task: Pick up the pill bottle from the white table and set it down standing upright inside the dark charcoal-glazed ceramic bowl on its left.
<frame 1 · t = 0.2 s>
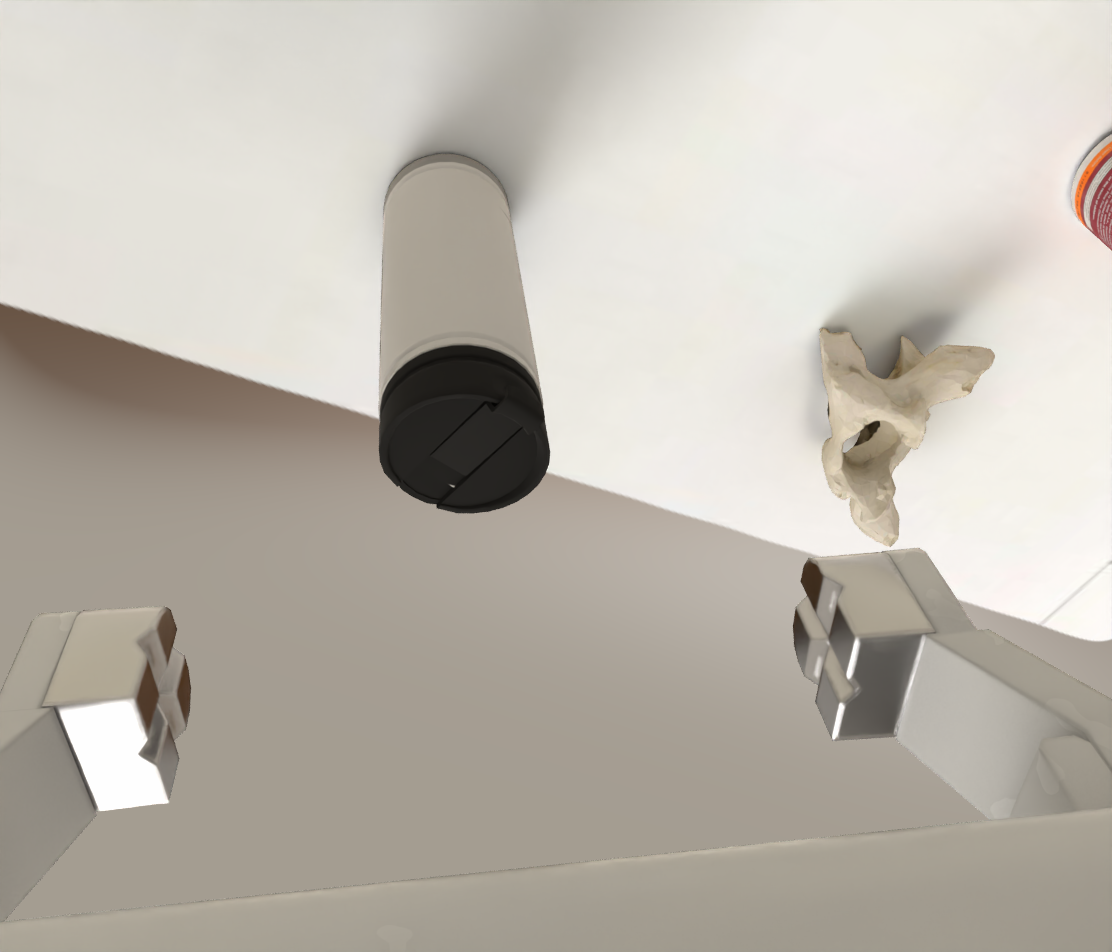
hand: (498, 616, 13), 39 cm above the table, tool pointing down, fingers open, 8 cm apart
bone: (874, 382, 62), on the table
travel mug: (448, 206, 51), on the table
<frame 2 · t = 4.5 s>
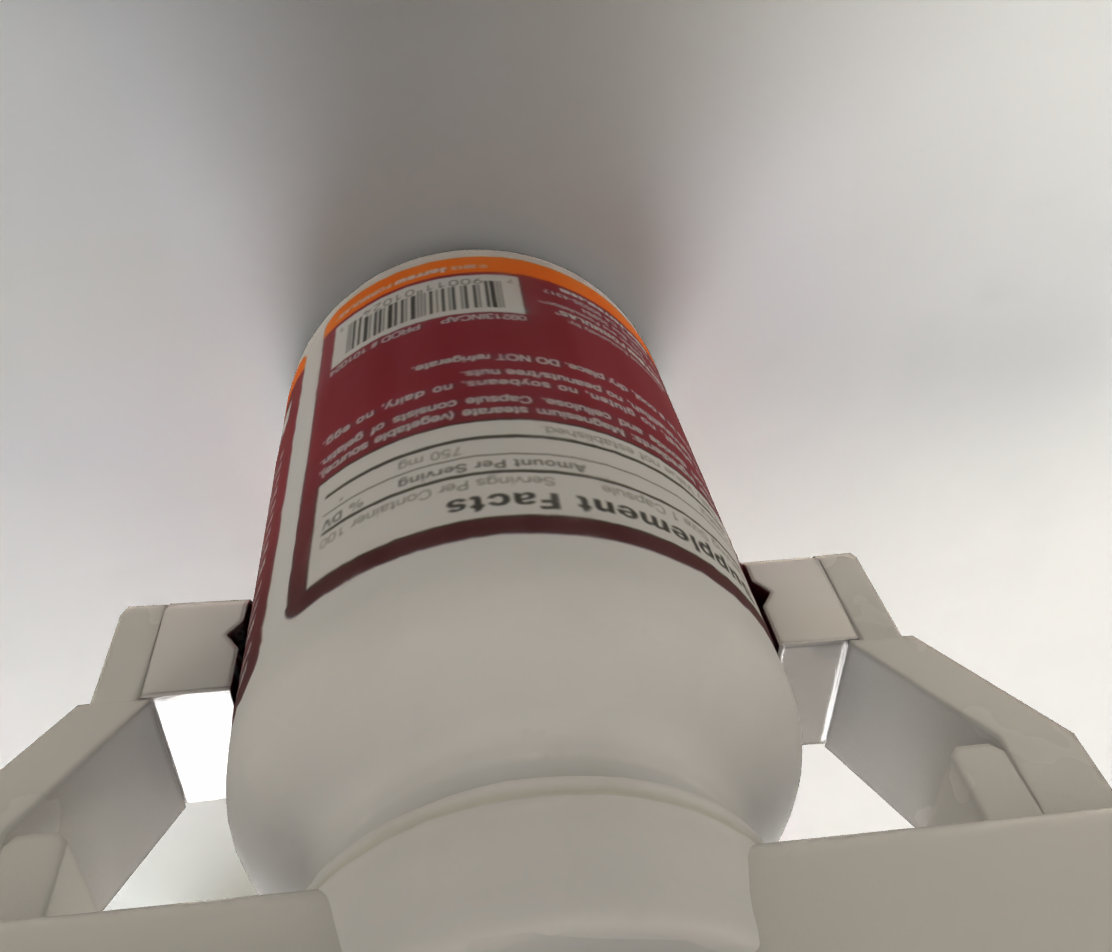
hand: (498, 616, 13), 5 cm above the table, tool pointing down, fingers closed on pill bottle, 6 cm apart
pill bottle: (476, 400, 18), on the table, touching gripper
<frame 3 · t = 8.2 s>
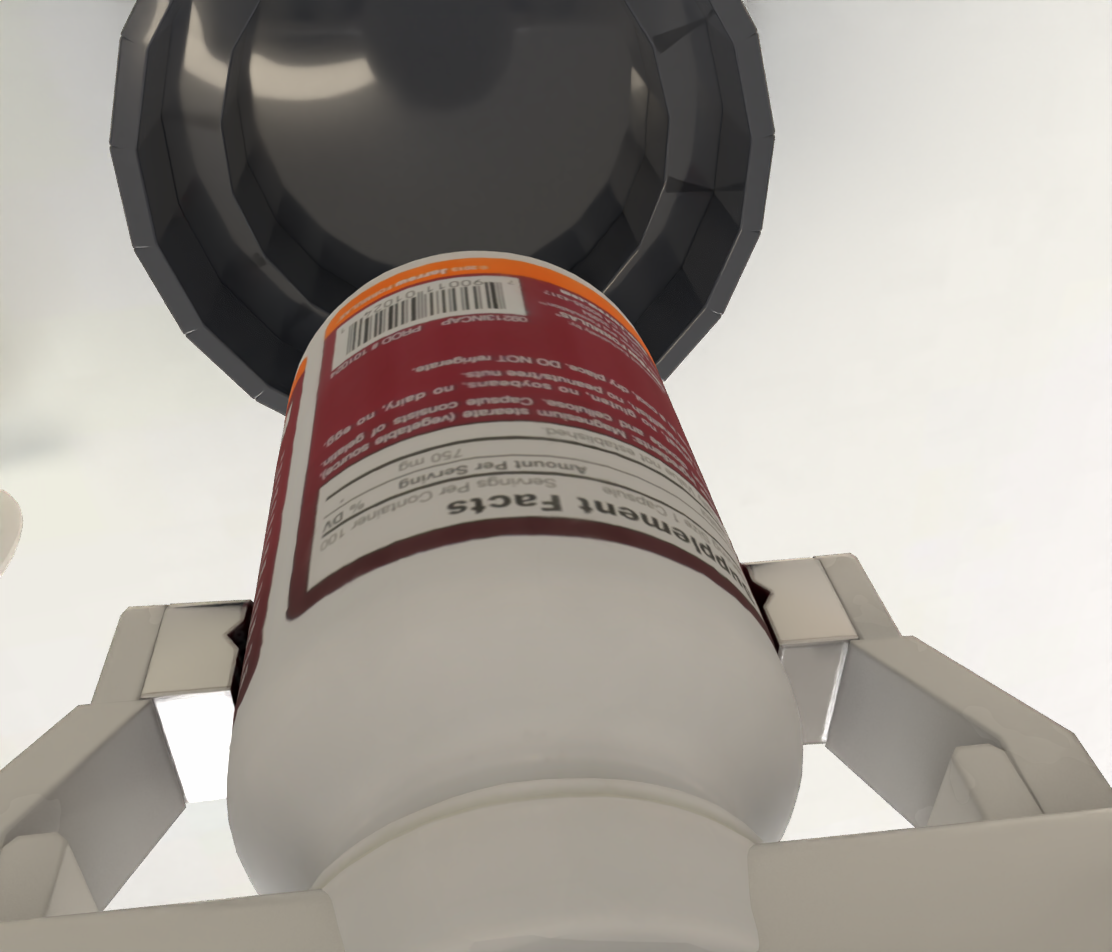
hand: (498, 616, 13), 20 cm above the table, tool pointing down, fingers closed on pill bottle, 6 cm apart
bowl: (447, 118, 29), on the table
pill bottle: (477, 401, 18), point 14 cm above the table, touching gripper
when the fingers open (6 cm above the table, at t = 11.9 s): pill bottle stays where it is, resting on bowl.
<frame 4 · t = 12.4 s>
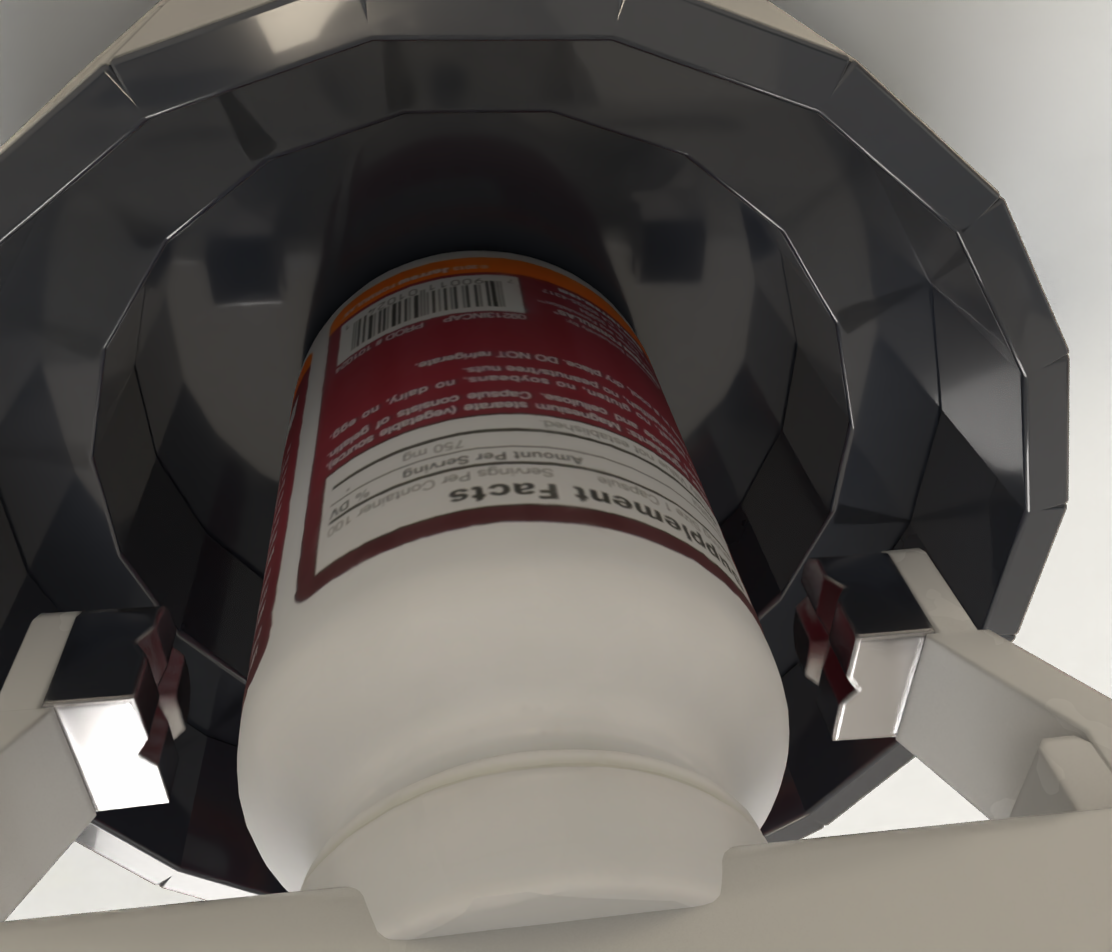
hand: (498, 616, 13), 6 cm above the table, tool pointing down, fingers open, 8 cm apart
bowl: (476, 381, 18), on the table
pill bottle: (477, 397, 18), resting on bowl
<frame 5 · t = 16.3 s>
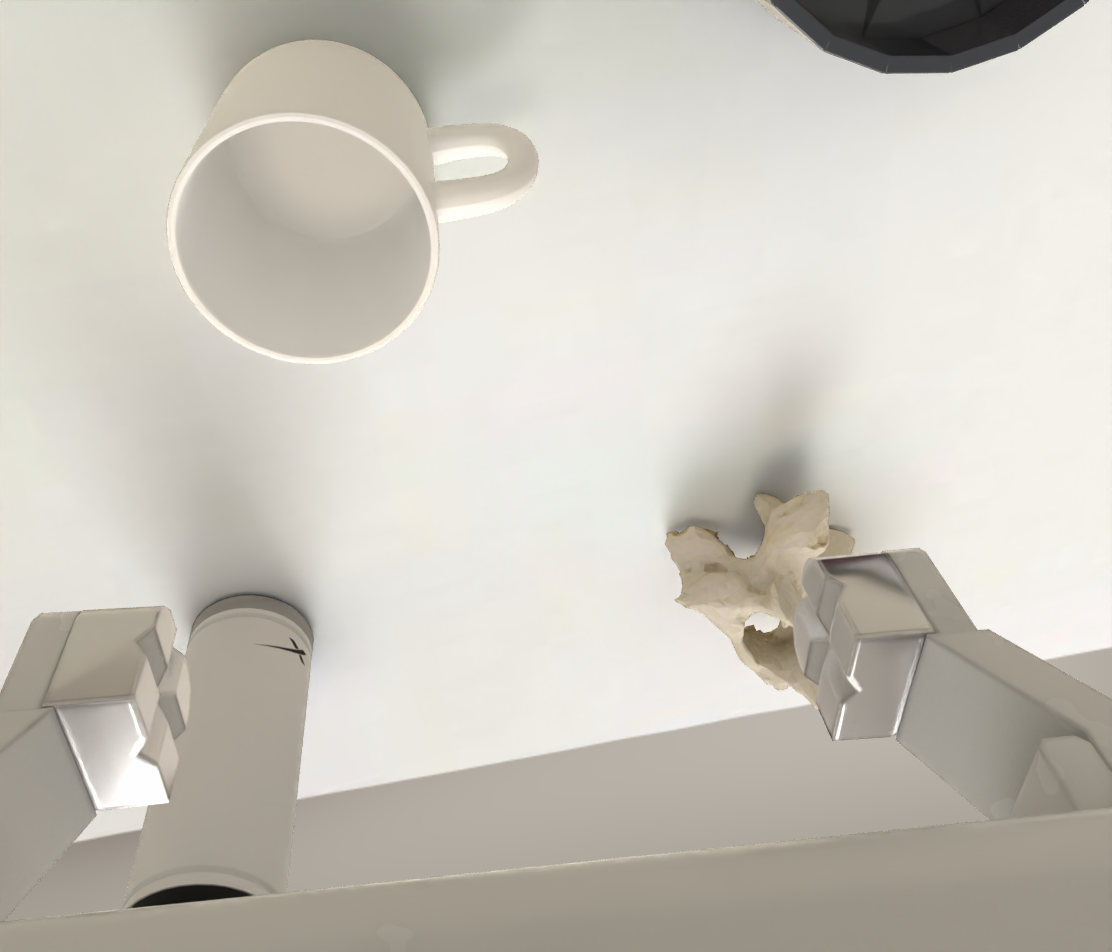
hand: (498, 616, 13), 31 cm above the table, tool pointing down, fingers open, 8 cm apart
cup: (373, 137, 40), on the table
bone: (773, 539, 55), on the table
travel mug: (253, 631, 54), on the table
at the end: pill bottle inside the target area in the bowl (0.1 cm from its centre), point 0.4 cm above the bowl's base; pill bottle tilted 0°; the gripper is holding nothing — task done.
